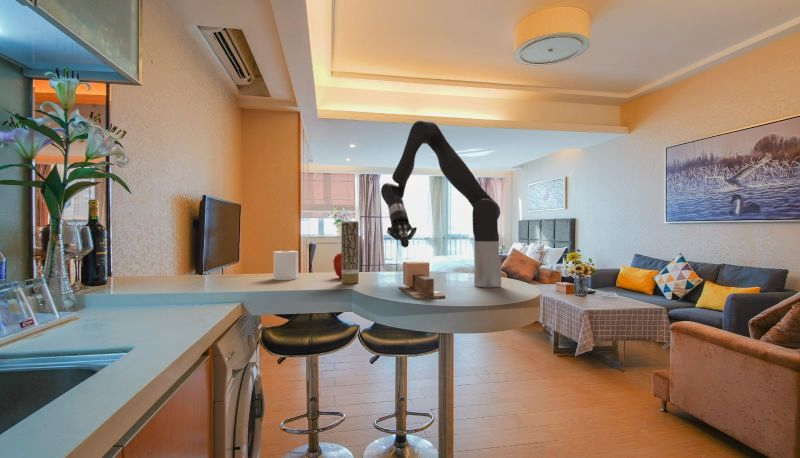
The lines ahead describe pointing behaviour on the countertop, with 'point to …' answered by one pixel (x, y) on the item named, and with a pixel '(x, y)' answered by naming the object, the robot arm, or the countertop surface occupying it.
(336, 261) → the apple
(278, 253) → the toilet paper
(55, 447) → the countertop surface
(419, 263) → the light brown square block
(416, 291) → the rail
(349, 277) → the brown tall block
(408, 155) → the robot arm
